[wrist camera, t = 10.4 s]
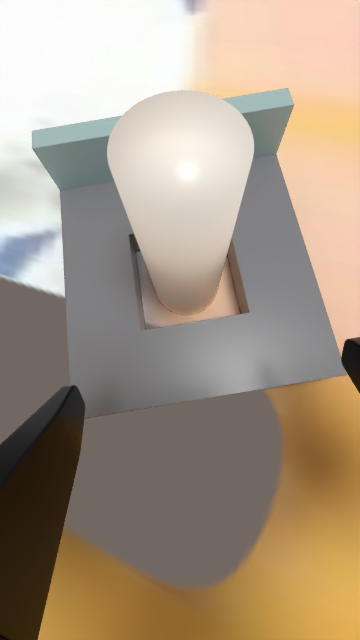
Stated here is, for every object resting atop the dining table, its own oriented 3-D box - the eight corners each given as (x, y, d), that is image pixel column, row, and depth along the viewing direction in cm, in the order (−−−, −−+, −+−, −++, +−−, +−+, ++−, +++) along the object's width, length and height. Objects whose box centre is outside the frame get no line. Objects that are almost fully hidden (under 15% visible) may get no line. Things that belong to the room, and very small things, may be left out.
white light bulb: (203, 324, 16) (221, 230, 6) (145, 300, 17) (80, 179, 7) (226, 269, 17) (274, 112, 7) (171, 248, 17) (145, 76, 8)
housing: (326, 376, 15) (391, 371, 10) (87, 416, 15) (37, 430, 10) (263, 165, 19) (288, 88, 14) (72, 196, 19) (31, 130, 14)
